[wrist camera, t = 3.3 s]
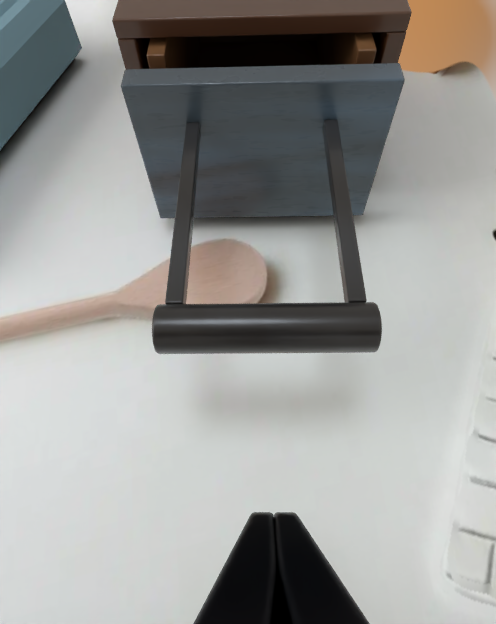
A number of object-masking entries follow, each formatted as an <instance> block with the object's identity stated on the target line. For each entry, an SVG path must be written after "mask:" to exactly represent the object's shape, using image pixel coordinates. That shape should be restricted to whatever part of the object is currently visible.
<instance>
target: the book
mask: <svg viewBox="0 0 496 624" xmlns="http://www.w3.org/2000/svg"><path fill="white" fill-rule="evenodd" d="M81 48H82V47H81V44H80V42H79V39H78V36H77V33H76V30H75V28H74V25H73V22H72V19H71V17H70V14H69V11H68V8H67V5H66V3H65V0H0V151H1V149H2V148H3V147H4V146H5V144H6V143H7V142H8V141H9V139H10V138H11V137H12V136H13V134H14V133H15V132H16V131H17V129H18V128H19V127H20V126H21V125H22V123H23V122H24V121H25V120H26V118H27V117H28V116H29V115H30V113H31V112H32V111H33V110H34V108H35V107H36V106H37V105H38V103H39V102H40V101H41V100H42V98H43V97H44V96H45V95H46V93H47V92H48V91H49V90H50V88H51V87H52V86H53V85H54V84H55V82H56V81H57V80H58V79H59V77H60V76H61V75H62V74H63V72H64V71H65V70H66V69H67V67H68V66H69V65H70V64H71V62H72V61H73V60H74V59H75V57H76V56H77V54H78V53H79V51H80V50H81Z"/></svg>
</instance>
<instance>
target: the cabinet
mask: <svg viewBox="0 0 496 624" xmlns="http://www.w3.org/2000/svg"><path fill="white" fill-rule="evenodd" d="M410 16H411V9H410V7H409V4H408V1H407V0H118V3H117V7H116V10H115V13H114V16H113V20H112V21H113V25H114V28H115V32H116V36H117V38H118V43H119V46H120V50H121V54H122V57H123V61H124V64H125V68H126V69H150V68H149V64H148V60H147V52H148V47H149V42H150V38H166V37H207V36H247V35H288V34H328V33H368V32H372V35H373V39H374V43H375V46H376V55H375V59H374V63H373V64H379V63H398V59H399V56H400V53H401V49H402V45H403V42H404V39H405V35H406V30H407V27H408V24H409V20H410Z"/></svg>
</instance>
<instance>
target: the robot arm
mask: <svg viewBox="0 0 496 624" xmlns="http://www.w3.org/2000/svg"><path fill="white" fill-rule="evenodd" d="M194 624H369V622H368V621H367V619H366V618H365V616H364V615H363V613H362V612H361V610H360V609H359V607H358V606H357V604H356V603H355V601H354V600H353V598H352V597H351V595H350V594H349V592H348V591H347V589H346V588H345V586H344V585H343V583H342V582H341V580H340V579H339V577H338V576H337V574H336V573H335V571H334V570H333V568H332V567H331V565H330V564H329V562H328V561H327V559H326V558H325V556H324V555H323V553H322V552H321V550H320V549H319V547H318V546H317V544H316V543H315V541H314V540H313V538H312V537H311V535H310V534H309V532H308V531H307V529H306V528H305V526H304V525H303V523H302V522H301V520H300V519H299V517H298V516H297V514H295V513H293V512H277V513H275V515H274V516H273V514H272V513H270V512H254V513H252V514H251V515H250V517H249V519H248V521H247V523H246V525H245V527H244V529H243V530H242V532H241V534H240V536H239V538H238V540H237V542H236V544H235V546H234V548H233V549H232V551H231V553H230V555H229V557H228V559H227V561H226V563H225V565H224V567H223V569H222V570H221V572H220V574H219V576H218V578H217V580H216V582H215V584H214V586H213V588H212V590H211V591H210V593H209V595H208V597H207V599H206V601H205V603H204V605H203V607H202V609H201V610H200V612H199V614H198V616H197V618H196V620H195V622H194Z"/></svg>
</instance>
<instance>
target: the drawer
mask: <svg viewBox="0 0 496 624" xmlns="http://www.w3.org/2000/svg"><path fill="white" fill-rule="evenodd" d="M375 55H376V46H375V43H374V39H373V35H372V32H368V33H328V34H288V35H247V36H207V37H166V38H150V42H149V47H148V52H147V60H148V64H149V68H150V69H126V70H125V72H124V76H123V80H122V84H121V88H122V92H123V95H124V98H125V101H126V105H127V108H128V111H129V115H130V118H131V121H132V125H133V128H134V131H135V135H136V138H137V141H138V145H139V148H140V151H141V155H142V158H143V161H144V165H145V168H146V171H147V175H148V178H149V181H150V184H151V188H152V191H153V194H154V198H155V201H156V204H157V208H158V211H159V214H160V217H161V218H175V223H174V232H173V240H172V249H171V258H170V266H169V275H168V283H167V292H166V300H165V303H166V304H160V305H157V306H156V308H155V311H154V314H153V321H152V337H153V344H154V348H155V350H156V352H157V353H159V354H214V353H346V352H376V351H377V350H378V348H379V345H380V341H381V334H382V324H381V316H380V311H379V308H378V306H377V305H376V304H375V303H373V302H366V294H365V288H364V282H363V276H362V269H361V263H360V257H359V251H358V245H357V238H356V232H355V226H354V220H353V215H363V212H364V209H365V206H366V203H367V199H368V196H369V193H370V190H371V187H372V183H373V180H374V177H375V174H376V171H377V167H378V164H379V161H380V158H381V154H382V151H383V148H384V145H385V142H386V138H387V135H388V132H389V129H390V125H391V122H392V119H393V116H394V113H395V109H396V106H397V103H398V100H399V97H400V93H401V90H402V87H403V84H404V76H403V73H402V69H401V66H400V64H399V63H379V64H373V63H374V59H375ZM269 216H334V223H335V231H336V238H337V246H338V254H339V261H340V269H341V277H342V284H343V292H344V300H345V303H256V304H186V298H187V286H188V275H189V264H190V252H191V241H192V229H193V218H202V217H269Z"/></svg>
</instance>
